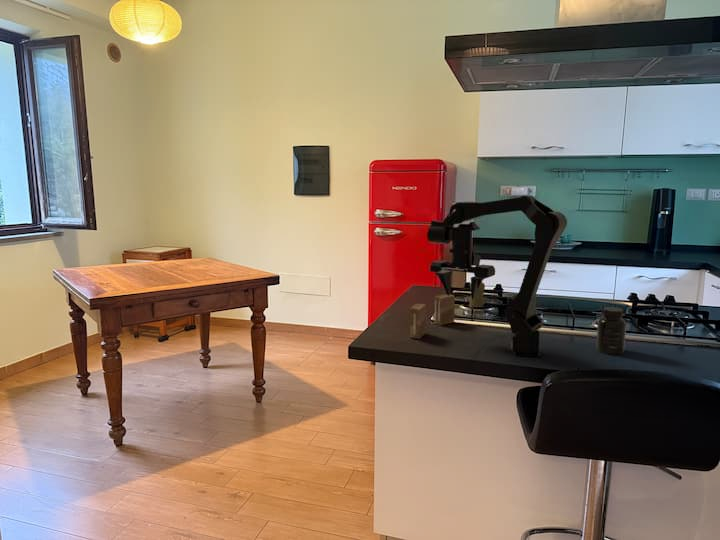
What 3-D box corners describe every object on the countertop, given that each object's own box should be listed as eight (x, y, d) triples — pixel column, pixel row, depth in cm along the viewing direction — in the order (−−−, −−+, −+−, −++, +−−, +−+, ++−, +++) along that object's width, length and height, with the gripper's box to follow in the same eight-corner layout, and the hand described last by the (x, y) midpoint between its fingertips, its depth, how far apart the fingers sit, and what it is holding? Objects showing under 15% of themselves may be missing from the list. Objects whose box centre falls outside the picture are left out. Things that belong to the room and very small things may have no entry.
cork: (466, 312, 172) (467, 282, 170) (470, 308, 177) (471, 279, 175) (483, 314, 169) (484, 284, 167) (487, 310, 174) (487, 281, 172)
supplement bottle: (595, 345, 135) (598, 304, 133) (622, 348, 133) (625, 306, 131) (596, 353, 129) (600, 311, 127) (625, 356, 127) (629, 313, 124)
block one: (425, 332, 145) (425, 304, 144) (419, 339, 140) (419, 309, 138) (416, 331, 147) (416, 303, 145) (409, 337, 141) (409, 308, 139)
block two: (454, 321, 156) (454, 295, 154) (440, 325, 152) (440, 298, 151) (447, 319, 158) (447, 293, 157) (433, 323, 155) (434, 296, 153)
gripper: (503, 244, 138) (501, 296, 141) (447, 240, 150) (446, 288, 153) (487, 248, 130) (485, 303, 133) (428, 244, 142) (428, 294, 145)
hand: (460, 297), depth 141 cm, fingers open, 8 cm apart
